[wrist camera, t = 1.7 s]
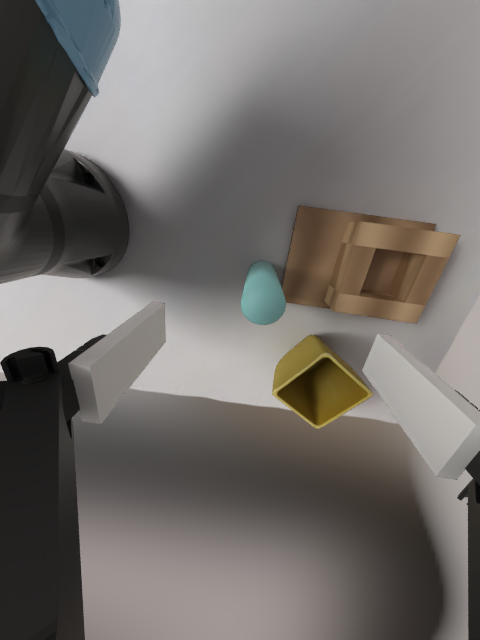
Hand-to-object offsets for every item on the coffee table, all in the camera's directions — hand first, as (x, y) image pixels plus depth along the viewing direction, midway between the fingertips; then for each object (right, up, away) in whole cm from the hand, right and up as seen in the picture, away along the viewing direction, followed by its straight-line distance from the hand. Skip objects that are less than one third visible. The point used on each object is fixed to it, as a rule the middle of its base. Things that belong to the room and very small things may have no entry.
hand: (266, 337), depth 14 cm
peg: (+1, +7, +17) cm, 18 cm away
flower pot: (+9, -4, +21) cm, 24 cm away
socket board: (+13, +8, +15) cm, 22 cm away
